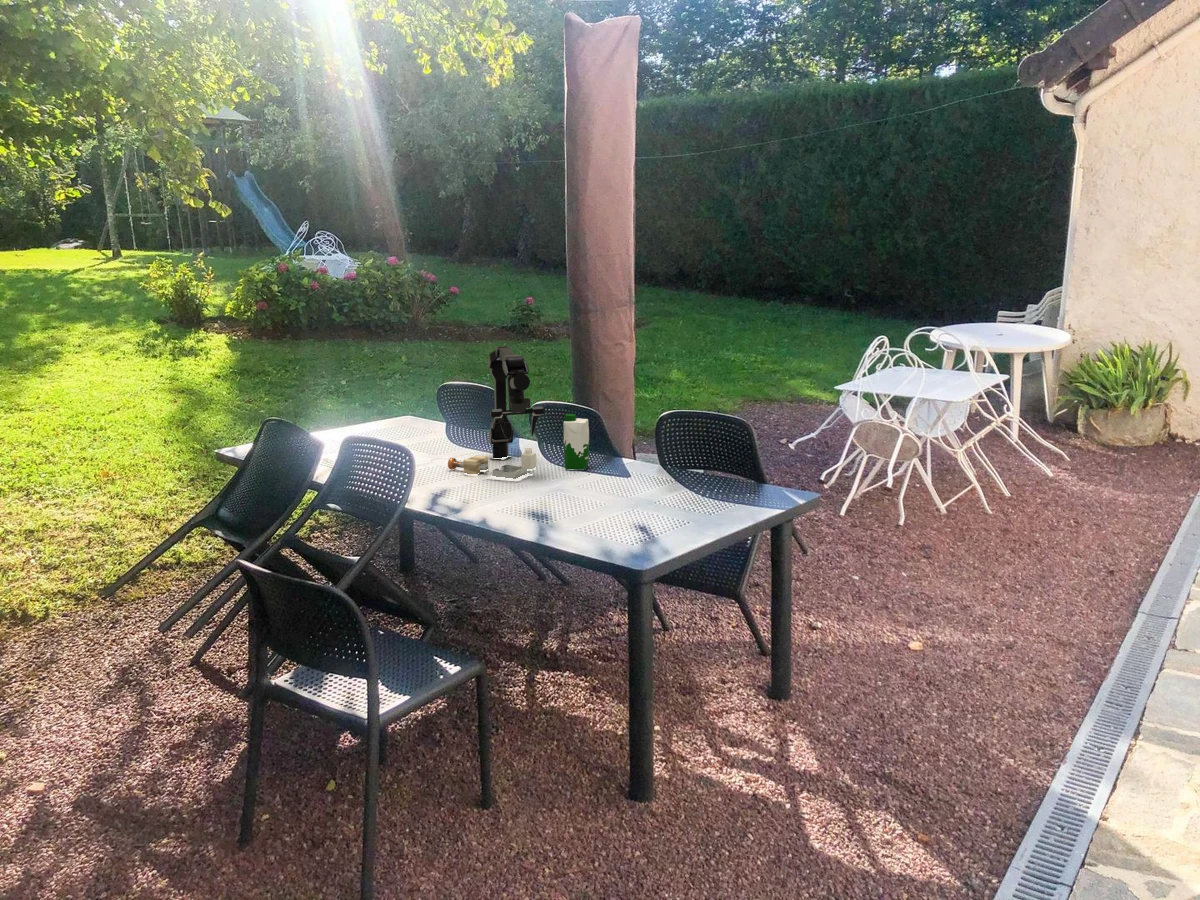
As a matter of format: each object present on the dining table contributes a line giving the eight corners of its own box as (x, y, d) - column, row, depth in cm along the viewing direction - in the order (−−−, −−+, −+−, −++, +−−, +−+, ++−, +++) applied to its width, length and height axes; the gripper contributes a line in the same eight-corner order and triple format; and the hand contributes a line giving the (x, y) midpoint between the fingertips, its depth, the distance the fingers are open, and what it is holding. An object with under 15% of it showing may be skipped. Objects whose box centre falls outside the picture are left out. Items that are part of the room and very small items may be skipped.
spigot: (526, 468, 349) (526, 447, 348) (536, 469, 348) (536, 447, 346) (521, 470, 346) (521, 449, 344) (531, 471, 344) (530, 450, 343)
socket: (504, 471, 344) (503, 463, 344) (533, 474, 339) (532, 466, 339) (486, 479, 334) (486, 470, 333) (516, 482, 329) (516, 474, 328)
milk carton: (566, 465, 354) (566, 412, 349) (590, 466, 352) (590, 412, 348) (562, 470, 345) (561, 416, 341) (586, 471, 344) (586, 417, 339)
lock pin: (454, 467, 349) (454, 456, 348) (488, 471, 343) (488, 460, 342) (448, 470, 345) (447, 459, 344) (482, 474, 339) (482, 462, 338)
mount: (476, 469, 347) (476, 455, 346) (488, 471, 345) (488, 456, 344) (463, 475, 340) (463, 460, 338) (475, 476, 338) (475, 461, 336)
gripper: (489, 392, 322) (492, 438, 322) (544, 389, 325) (547, 435, 325) (489, 394, 333) (492, 438, 333) (542, 391, 336) (545, 435, 336)
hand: (519, 436), depth 332 cm, fingers open, 9 cm apart
